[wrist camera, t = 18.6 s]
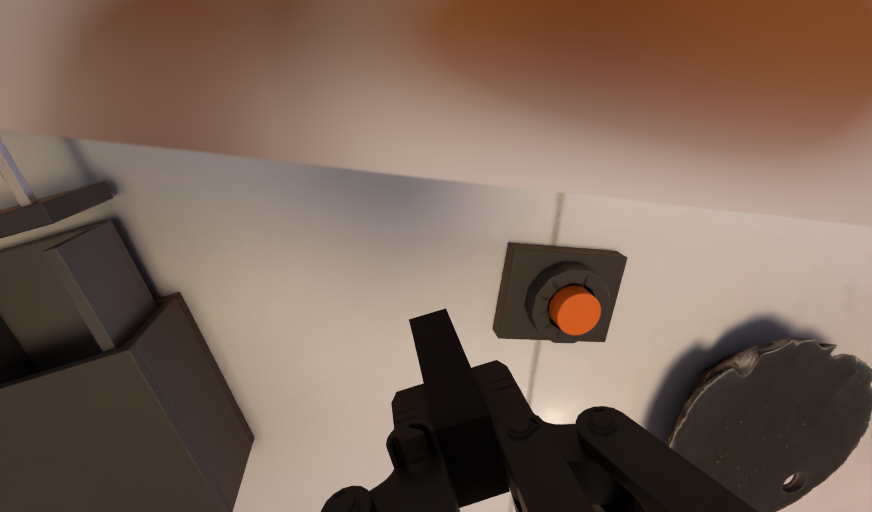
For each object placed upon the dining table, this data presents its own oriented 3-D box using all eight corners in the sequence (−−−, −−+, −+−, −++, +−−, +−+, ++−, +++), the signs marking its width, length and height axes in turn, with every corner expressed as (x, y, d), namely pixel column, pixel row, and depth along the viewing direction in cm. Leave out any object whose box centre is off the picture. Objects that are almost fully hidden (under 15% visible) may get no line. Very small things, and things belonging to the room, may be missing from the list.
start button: (544, 324, 38) (553, 334, 36) (553, 283, 37) (562, 292, 35) (585, 326, 38) (595, 336, 37) (595, 286, 37) (606, 294, 36)
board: (810, 465, 54) (854, 502, 49) (634, 510, 51) (662, 553, 46) (843, 295, 46) (899, 318, 41) (638, 338, 44) (672, 368, 39)
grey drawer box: (11, 342, 34) (-93, 417, 26) (179, 292, 35) (128, 349, 27) (110, 484, 40) (47, 583, 32) (254, 437, 40) (229, 522, 32)
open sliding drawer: (-135, 134, 28) (-278, 145, 22) (54, 83, 29) (-31, 80, 22) (44, 393, 35) (-24, 459, 29) (193, 347, 36) (158, 402, 29)
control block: (492, 329, 41) (504, 349, 37) (508, 242, 38) (522, 256, 35) (595, 333, 43) (615, 352, 39) (617, 251, 40) (640, 264, 37)
